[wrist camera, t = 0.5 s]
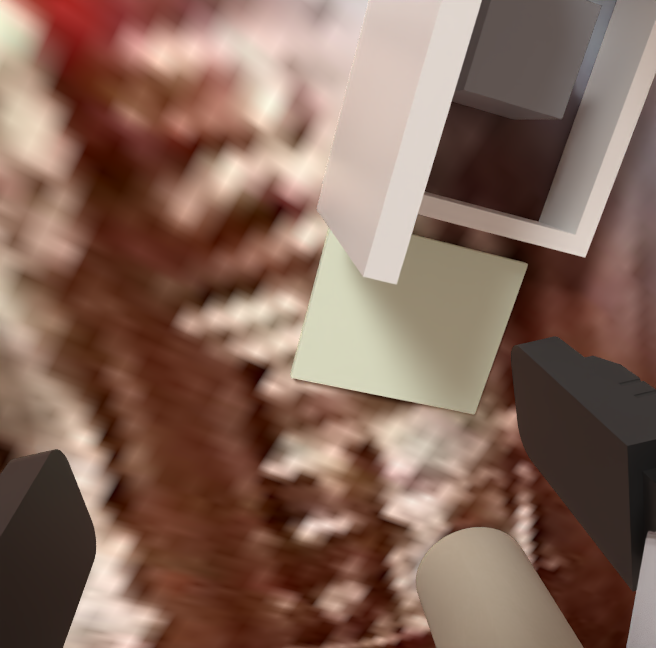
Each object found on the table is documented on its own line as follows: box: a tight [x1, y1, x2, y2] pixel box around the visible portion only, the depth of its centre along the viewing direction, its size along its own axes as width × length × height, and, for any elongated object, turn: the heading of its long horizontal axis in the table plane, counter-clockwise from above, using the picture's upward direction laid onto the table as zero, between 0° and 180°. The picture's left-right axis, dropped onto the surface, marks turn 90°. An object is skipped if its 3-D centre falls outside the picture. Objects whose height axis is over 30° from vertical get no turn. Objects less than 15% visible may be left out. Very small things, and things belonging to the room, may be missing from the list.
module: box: [452, 0, 601, 119], centre depth 31 cm, size 5×5×6 cm
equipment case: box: [316, 0, 656, 285], centre depth 25 cm, size 19×14×18 cm
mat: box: [290, 228, 528, 415], centre depth 38 cm, size 10×12×1 cm
